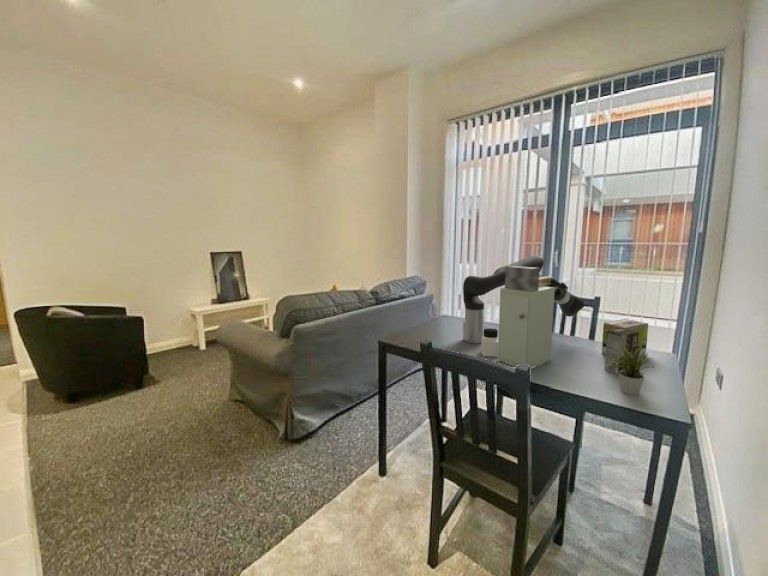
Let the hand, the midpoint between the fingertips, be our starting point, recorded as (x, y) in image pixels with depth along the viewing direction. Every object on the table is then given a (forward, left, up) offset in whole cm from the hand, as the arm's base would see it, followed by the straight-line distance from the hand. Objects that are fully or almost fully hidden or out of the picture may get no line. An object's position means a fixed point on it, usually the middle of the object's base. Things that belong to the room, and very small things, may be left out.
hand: (542, 279), depth 150 cm
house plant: (+38, -7, -35) cm, 52 cm away
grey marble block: (0, -6, -2) cm, 6 cm away
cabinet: (0, -11, -34) cm, 36 cm away
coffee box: (+29, +9, -35) cm, 46 cm away
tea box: (+23, +29, -35) cm, 51 cm away
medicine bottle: (-14, -16, -35) cm, 41 cm away
